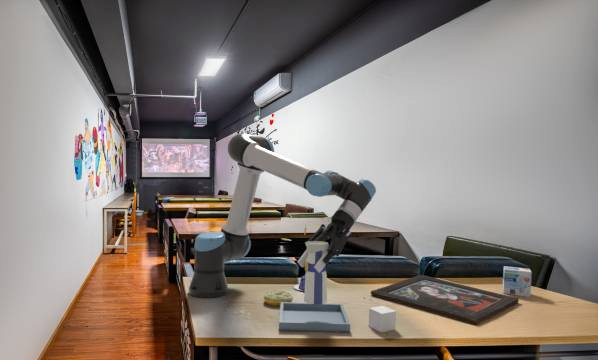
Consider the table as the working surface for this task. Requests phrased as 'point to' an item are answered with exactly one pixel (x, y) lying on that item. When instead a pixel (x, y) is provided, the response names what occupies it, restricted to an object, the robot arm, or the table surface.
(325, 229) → the robot arm
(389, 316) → the white cube
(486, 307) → the religious icon
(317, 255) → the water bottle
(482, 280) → the table surface
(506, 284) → the light bulb box
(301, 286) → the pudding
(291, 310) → the blue-gray tray
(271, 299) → the decorated donut
